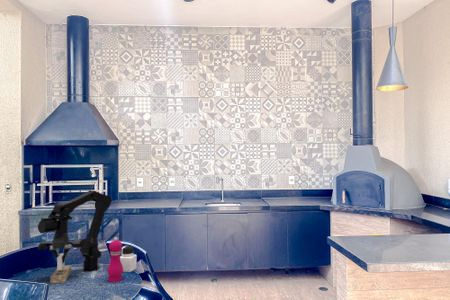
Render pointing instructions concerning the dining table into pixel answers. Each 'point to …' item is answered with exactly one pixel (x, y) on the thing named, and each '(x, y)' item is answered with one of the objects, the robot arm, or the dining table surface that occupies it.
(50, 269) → the dining table surface
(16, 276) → the dining table surface
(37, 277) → the dining table surface
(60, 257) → the clip
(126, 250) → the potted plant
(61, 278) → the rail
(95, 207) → the robot arm
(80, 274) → the dining table surface
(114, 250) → the pepper mill
